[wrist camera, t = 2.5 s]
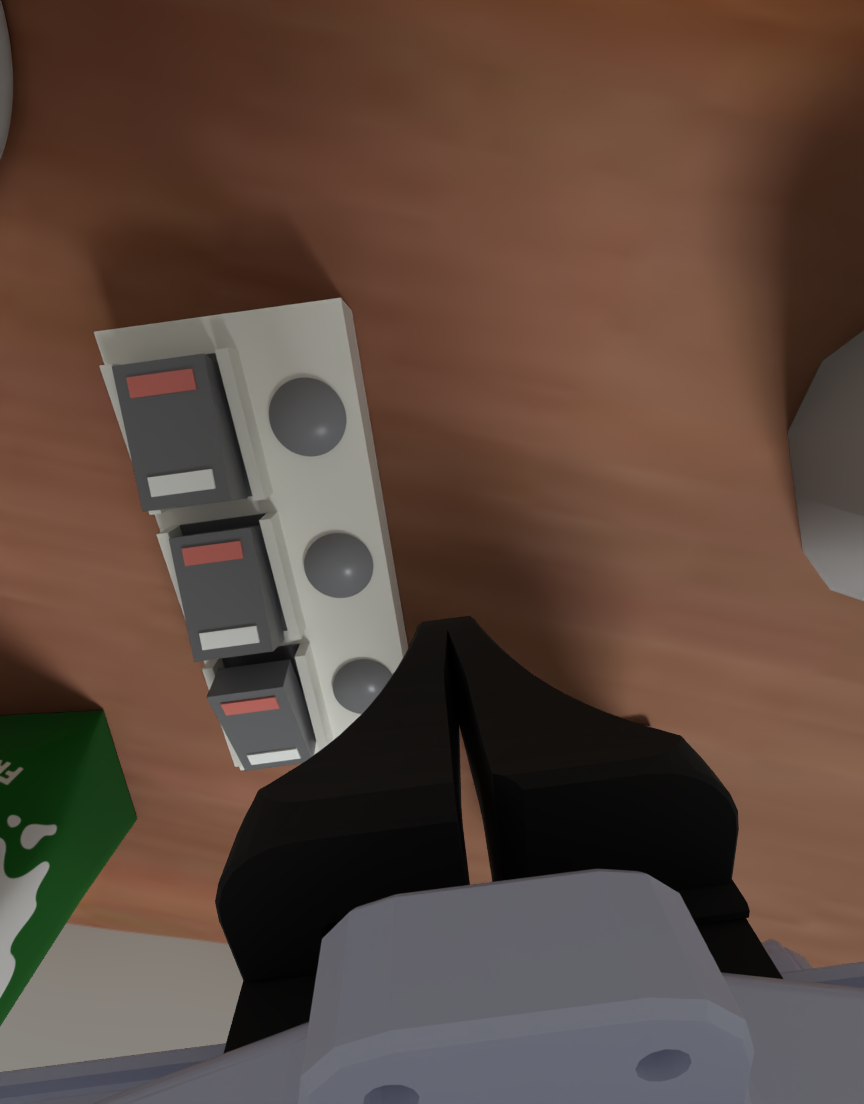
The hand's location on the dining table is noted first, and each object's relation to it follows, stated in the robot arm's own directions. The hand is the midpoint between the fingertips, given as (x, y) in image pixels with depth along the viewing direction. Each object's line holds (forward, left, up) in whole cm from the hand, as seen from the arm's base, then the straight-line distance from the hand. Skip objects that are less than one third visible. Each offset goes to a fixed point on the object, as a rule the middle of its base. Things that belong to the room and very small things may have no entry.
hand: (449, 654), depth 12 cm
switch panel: (-2, +6, -10) cm, 12 cm away
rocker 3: (-5, +7, -6) cm, 11 cm away
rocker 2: (0, +7, -6) cm, 9 cm away
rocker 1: (+6, +7, -6) cm, 11 cm away
